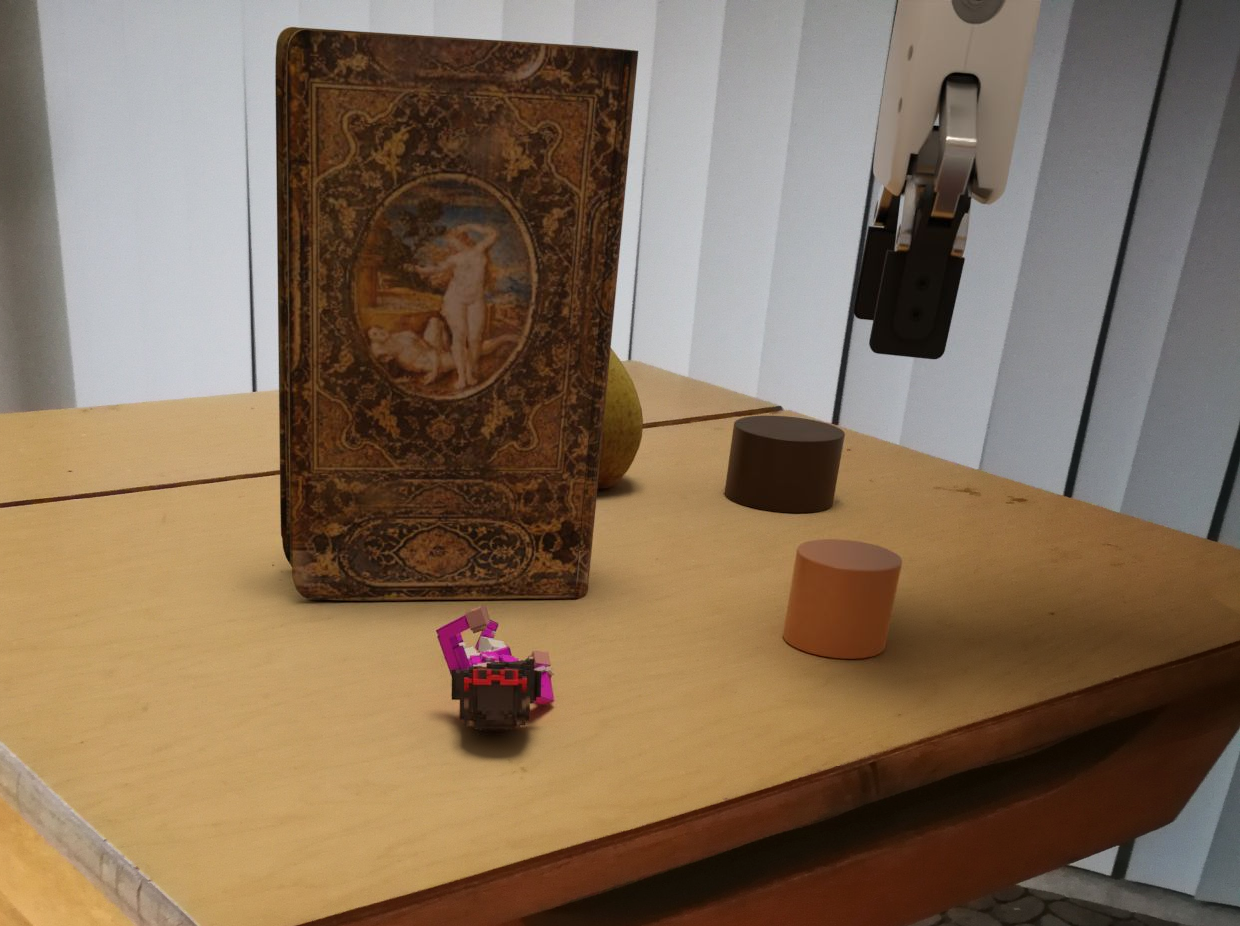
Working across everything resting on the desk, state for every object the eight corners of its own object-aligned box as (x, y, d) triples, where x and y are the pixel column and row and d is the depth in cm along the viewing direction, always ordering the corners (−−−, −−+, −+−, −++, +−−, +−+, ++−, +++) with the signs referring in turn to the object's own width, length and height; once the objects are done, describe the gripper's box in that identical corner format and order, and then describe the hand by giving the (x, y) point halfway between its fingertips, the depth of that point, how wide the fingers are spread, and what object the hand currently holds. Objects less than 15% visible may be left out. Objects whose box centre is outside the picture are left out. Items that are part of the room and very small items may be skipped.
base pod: (829, 489, 105) (841, 420, 102) (835, 517, 99) (848, 445, 96) (724, 479, 105) (733, 411, 103) (724, 506, 99) (734, 435, 97)
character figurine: (415, 675, 73) (442, 748, 63) (420, 567, 71) (449, 624, 60) (531, 679, 74) (578, 752, 64) (540, 573, 72) (590, 629, 61)
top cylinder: (880, 629, 80) (897, 544, 78) (889, 663, 76) (907, 574, 73) (780, 619, 81) (794, 534, 78) (784, 653, 76) (799, 564, 74)
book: (572, 567, 86) (617, 47, 73) (598, 598, 82) (651, 51, 68) (281, 569, 83) (271, 24, 69) (291, 602, 78) (283, 27, 65)
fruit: (661, 486, 103) (683, 292, 96) (573, 507, 97) (590, 302, 90) (565, 459, 107) (579, 272, 101) (475, 478, 102) (485, 281, 95)
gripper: (1130, -135, 54) (1005, 380, 63) (1043, -97, 68) (952, 316, 77) (915, -152, 54) (822, 361, 63) (874, -111, 69) (804, 301, 78)
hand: (894, 336), depth 70 cm, fingers open, 9 cm apart
